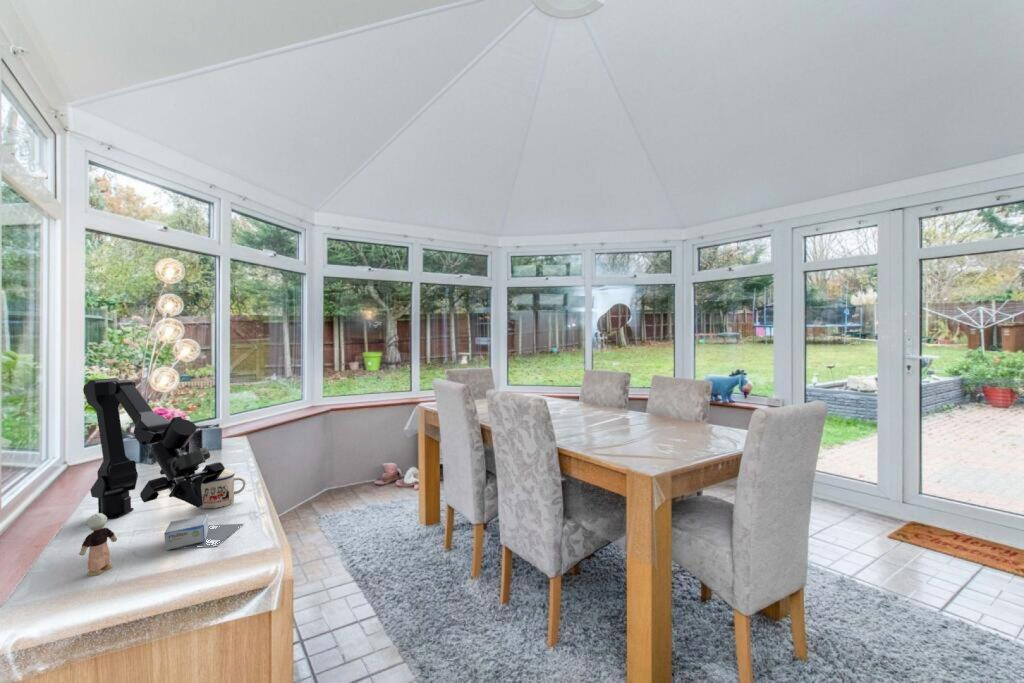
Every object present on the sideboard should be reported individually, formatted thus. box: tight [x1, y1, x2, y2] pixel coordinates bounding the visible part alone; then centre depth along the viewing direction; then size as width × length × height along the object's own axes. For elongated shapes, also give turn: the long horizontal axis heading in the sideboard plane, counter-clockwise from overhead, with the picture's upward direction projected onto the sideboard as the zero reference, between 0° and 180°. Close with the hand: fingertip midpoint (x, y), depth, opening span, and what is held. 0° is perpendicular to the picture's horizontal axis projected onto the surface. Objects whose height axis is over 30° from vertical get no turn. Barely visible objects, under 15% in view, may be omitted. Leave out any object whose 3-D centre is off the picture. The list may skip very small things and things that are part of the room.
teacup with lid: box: [200, 468, 247, 509], centre depth 142 cm, size 12×9×12 cm
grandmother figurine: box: [78, 513, 118, 577], centre depth 100 cm, size 8×4×13 cm, turn 5°
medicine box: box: [163, 513, 209, 551], centre depth 115 cm, size 8×4×9 cm
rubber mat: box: [177, 523, 244, 549], centre depth 118 cm, size 9×13×1 cm
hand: (200, 506), depth 120 cm, fingers closed
